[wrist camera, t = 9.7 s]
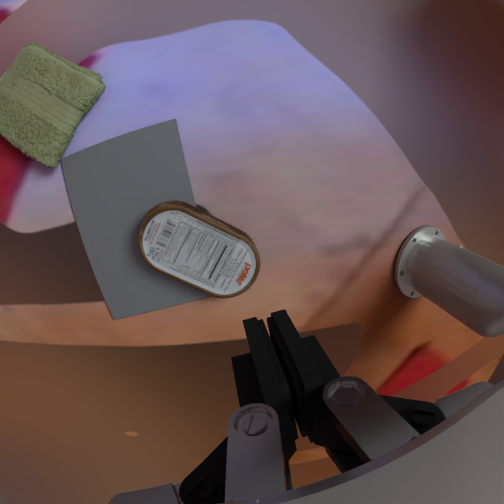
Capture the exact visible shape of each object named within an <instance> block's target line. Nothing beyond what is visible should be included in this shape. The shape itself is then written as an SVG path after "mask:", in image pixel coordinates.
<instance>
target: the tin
mask: <svg viewBox="0 0 504 504" xmlns="http://www.w3.org/2000/svg"><path fill="white" fill-rule="evenodd" d="M137 242H138V248H139V251H140V254H141V256H142V257H143V259H144V260H145V262H146V263H147V264H148V265H149V266H150V267H151V268H153V269H154V270H156V271H158V272H160V273H162V274H164V275H167V276H169V277H171V278H173V279H175V280H178V281H180V282H182V283H184V284H186V285H189V286H191V287H193V288H195V289H197V290H200V291H202V292H204V293H206V294H209V295H211V296H214V297H219V298H230V297H234V296H237V295H240V294H242V293H243V292H245V291H246V290H248V289H249V288H250V286H251V285H252V284H253V283H254V281H255V280H256V278H257V276H258V273H259V270H260V257H259V253H258V250H257V248H256V246H255V244H254V242H253V241H252V239H251V238H250V237H249V236H248V235H247V234H246V233H245V232H243V231H241V230H240V229H238V228H236V227H234V226H232V225H230V224H228V223H226V222H224V221H222V220H220V219H218V218H216V217H214V216H212V215H210V214H208V213H206V212H204V211H202V210H200V209H198V208H196V207H195V206H193V205H191V204H189V203H186V202H183V201H178V200H170V201H165V202H162V203H160V204H158V205H156V206H154V207H153V208H152V209H151V210H150V211H149V212H148V213H147V214H146V215H145V217H144V219H143V221H142V222H141V224H140V227H139V230H138V236H137Z"/></svg>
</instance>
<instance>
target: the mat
mask: <svg viewBox="0 0 504 504" xmlns="http://www.w3.org/2000/svg"><path fill="white" fill-rule="evenodd" d="M61 163H62V168H63V173H64V177H65V181H66V186H67V190H68V194H69V197H70V201H71V205H72V209H73V212H74V216H75V219H76V222H77V226H78V228H79V232H80V235H81V238H82V241H83V244H84V247H85V250H86V253H87V256H88V259H89V261H90V264H91V267H92V269H93V272H94V275H95V277H96V280H97V282H98V284H99V287H100V289H101V292H102V294H103V297H104V298H105V301H106V304H107V306H108V308H109V310H110V313H111V315H112V317H113V319H114V320H116V319H120V318H124V317H129V316H133V315H137V314H142V313H146V312H150V311H154V310H159V309H163V308H167V307H171V306H175V305H179V304H183V303H187V302H191V301H195V300H199V299H203V298H207V297H210V296H211V295H209V294H206V293H204V292H202V291H200V290H197V289H195V288H193V287H191V286H189V285H186V284H184V283H182V282H180V281H178V280H175V279H173V278H171V277H169V276H167V275H164V274H162V273H160V272H158V271H156V270H154V269H153V268H151V267H150V266H149V265H148V264H147V263H146V262H145V260H144V259H143V257H142V256H141V254H140V251H139V248H138V242H137V236H138V230H139V227H140V224H141V222H142V221H143V219H144V217H145V215H146V214H147V213H148V212H149V211H150V210H151V209H152V208H153V207H154V206H156V205H158V204H160V203H162V202H165V201H170V200H178V201H183V202H186V203H189V204H191V205H193V206H195V207H196V205H195V201H194V197H193V193H192V189H191V185H190V181H189V176H188V172H187V168H186V164H185V159H184V155H183V150H182V146H181V141H180V137H179V132H178V128H177V123H176V119H174V120H170V121H166V122H163V123H159V124H156V125H152V126H149V127H145V128H142V129H139V130H136V131H133V132H130V133H127V134H124V135H121V136H118V137H115V138H112V139H109V140H107V141H104V142H101V143H99V144H96V145H94V146H91V147H88V148H86V149H84V150H81V151H79V152H76V153H74V154H72V155H69V156H67V157H65V158H63V159H61Z"/></svg>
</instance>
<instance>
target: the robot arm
mask: <svg viewBox="0 0 504 504" xmlns="http://www.w3.org/2000/svg"><path fill="white" fill-rule="evenodd" d="M395 281H396V284H397V287H398V289H399V290H400V291H401V292H402V293H403V294H404V295H406V296H407V297H410V298H417V297H421V296H424V297H425V298H427V299H428V300H430V301H431V302H433V303H434V304H436V305H437V306H439V307H440V308H442V309H443V310H444V311H446V312H447V313H449V314H450V315H452V316H453V317H455V318H456V319H457V320H459V321H460V322H462V323H463V324H464V325H466V326H467V327H469V328H470V329H471V330H473V331H474V332H476V333H477V334H479V335H481V336H484V337H495V336H499V335H502V334H504V267H502V266H500V265H498V264H496V263H494V262H492V261H490V260H488V259H485V258H483V257H481V256H479V255H476V254H474V253H472V252H470V251H467V250H465V249H463V247H462V245H461V244H458V245H453V244H451V243H448V242H446V239H445V236H444V234H443V233H442V232H441V231H440V230H439V229H438V228H436V227H433V226H429V225H428V226H422V227H419V228H418V229H416V230H414V231H413V232H412V233H411V234H410V235H409V236H408V238H407V239H406V240H405V242H404V243H403V245H402V247H401V249H400V251H399V254H398V257H397V260H396V265H395ZM267 323H268V328H269V333H270V337H269V334H268V332H267V329H266V327H265V324H264V321H263V319H261V320H257V318H256V317H254V318H250V319H246V320H243V324H244V328H245V332H246V336H247V340H248V343H249V347H250V351H251V353H247V354H242V355H239V356H234V357H231V359H232V365H233V371H234V377H235V382H236V387H237V393H238V398H239V404H240V408H239V409H237V410H236V411H235V412H234V413H233V414H232V416H231V417H230V420H229V425H228V436H227V437H226V438H225V439H224V441H223V442H222V443H221V444H220V445H219V446H218V447H217V448H216V449H215V450H214V451H213V452H212V453H211V454H210V455H209V456H208V457H207V458H206V459H205V460H204V461H203V462H202V463H201V464H200V465H199V466H198V467H197V468H196V469H195V470H193V471H192V472H191V473H190V474H189V475H188V476H187V477H186V478H185V479H184V481H183V482H182V483H180V484H177V485H173V484H172V483H170V484H166V485H162V486H158V487H153V488H148V489H143V490H138V491H132V492H126V493H121V494H118V495H115V496H114V497H113V498H112V499H111V500H110V502H109V503H108V504H504V354H503V356H502V358H501V359H500V361H499V363H498V365H497V366H496V368H495V370H494V372H493V373H492V375H491V377H490V379H489V380H488V382H483V381H482V382H478V383H475V384H473V385H471V386H468V387H466V388H464V389H461V390H459V391H457V392H454V393H452V394H449V395H447V396H444V397H441V398H439V399H437V400H436V402H435V403H430V402H426V401H418V400H411V399H404V398H397V397H391V396H385V395H379V394H377V393H376V392H375V391H374V390H373V389H372V388H371V387H370V386H369V385H368V384H367V383H366V382H365V381H364V380H362V379H361V378H358V377H355V376H342V377H340V375H339V374H338V372H337V371H336V369H335V368H334V366H333V364H332V363H331V361H330V360H329V358H328V356H327V355H326V353H325V352H324V350H323V349H322V347H321V345H320V344H319V342H318V341H317V339H316V338H315V336H313V335H311V336H308V337H305V338H301V337H300V335H299V333H298V332H297V330H296V328H295V326H294V324H293V323H292V321H291V319H290V317H289V316H288V314H287V312H286V310H285V309H284V310H280V311H277V312H273V313H271V317H268V318H267ZM270 338H271V339H270ZM295 419H296V422H297V425H298V427H299V430H300V432H301V435H302V437H305V436H308V437H309V440H310V442H311V443H312V442H314V443H315V444H317V445H320V446H323V447H324V448H325V450H326V452H327V454H328V455H329V456H330V458H331V459H332V461H333V462H334V463H335V465H336V466H337V468H338V469H339V471H340V472H341V474H339V475H336V476H333V477H331V478H328V479H325V480H322V481H319V482H316V483H313V484H310V485H306V486H303V487H300V488H296V489H292V481H291V472H290V464H289V460H290V458H291V457H292V455H293V454H294V453H295V451H296V450H297V449H296V444H295V439H298V435H297V428H296V423H295Z"/></svg>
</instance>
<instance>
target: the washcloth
mask: <svg viewBox="0 0 504 504" xmlns="http://www.w3.org/2000/svg"><path fill="white" fill-rule="evenodd" d="M105 88H106V86H105V85H104V84H103V81H102V76H101V75H100V74H97V73H95V72H93V70H90V69H87V68H84V66H83V67H81V66H78V65H76V64H74V63H72V62H71V61H68V60H66V59H64V58H62V57H60V56H58V55H55V54H54V53H51V52H50V51H48V49H47V48H44V46H41V45H39V44H37V43H34V42H30V43H28V44H27V45H26V46H25V47H24V48H23V49H22V51H21V52H20V53H19V54H18V56H17V57H16V59H15V60H14V62H13V63H12V65H11V67H10V68H9V69H8V70H7V71H6V72H5V73H4V75H3V76H2V77H1V79H0V134H1V135H2V136H3V137H4V138H5V139H6V140H8V141H9V142H11V144H12V145H13V146H14V147H16V148H18V149H20V150H21V152H22V153H23V154H26V156H28V157H32V159H34V160H36V161H38V162H40V163H41V164H44V165H45V166H47V167H51V168H52V169H53V168H56V167H57V165H58V164H59V161H60V158H61V157H62V156H63V153H64V152H65V149H66V147H67V145H68V143H69V142H70V140H71V139H72V138H73V136H74V132H75V128H76V127H77V126H78V124H79V123H80V121H81V119H82V117H83V116H84V114H85V113H87V112H89V110H90V109H91V108H92V104H93V103H95V101H96V100H97V99H98V98H99V97H100V95H102V93H103V92H104V90H105Z"/></svg>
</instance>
